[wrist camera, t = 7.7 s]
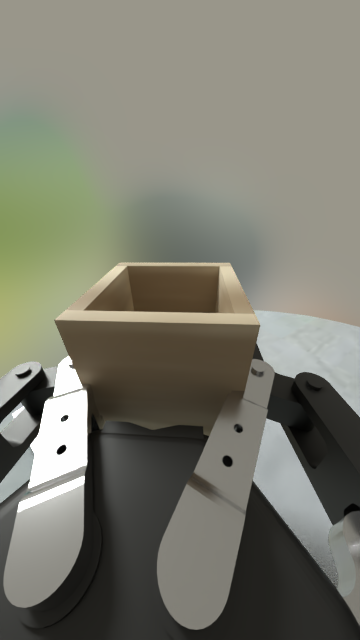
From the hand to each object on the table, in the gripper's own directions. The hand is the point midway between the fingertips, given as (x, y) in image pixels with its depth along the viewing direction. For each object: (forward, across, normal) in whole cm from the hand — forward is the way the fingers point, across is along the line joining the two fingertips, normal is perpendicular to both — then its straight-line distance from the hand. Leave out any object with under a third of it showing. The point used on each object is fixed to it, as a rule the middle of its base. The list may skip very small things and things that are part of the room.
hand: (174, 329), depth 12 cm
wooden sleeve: (-2, 0, +6) cm, 6 cm away
